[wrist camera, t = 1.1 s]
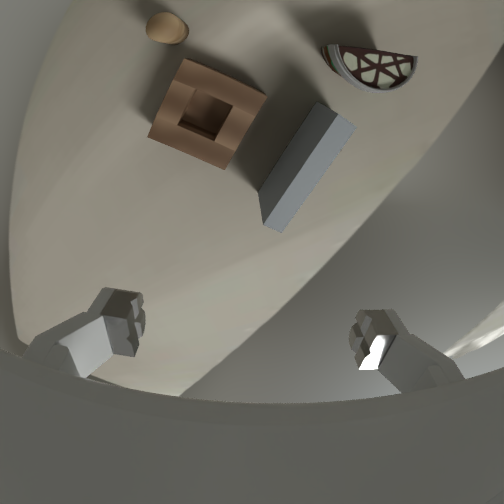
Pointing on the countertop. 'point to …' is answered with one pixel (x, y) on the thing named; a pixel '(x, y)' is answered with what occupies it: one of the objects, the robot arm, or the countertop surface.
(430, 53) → the countertop surface
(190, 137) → the block
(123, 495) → the robot arm
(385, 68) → the green rounded container
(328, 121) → the wall
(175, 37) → the dowel
